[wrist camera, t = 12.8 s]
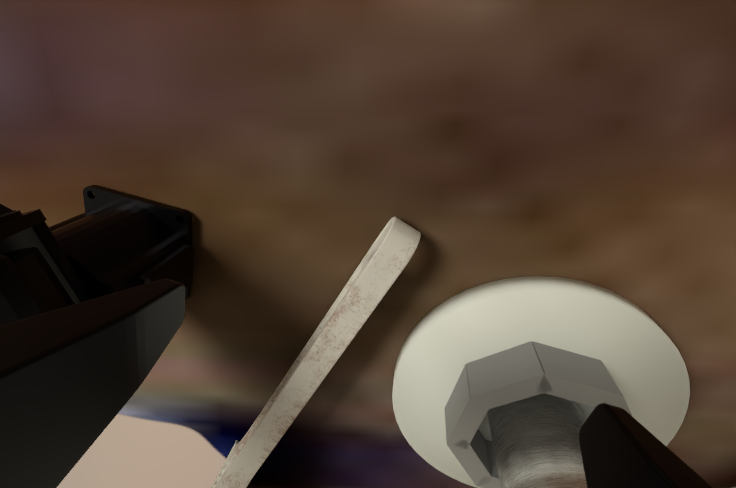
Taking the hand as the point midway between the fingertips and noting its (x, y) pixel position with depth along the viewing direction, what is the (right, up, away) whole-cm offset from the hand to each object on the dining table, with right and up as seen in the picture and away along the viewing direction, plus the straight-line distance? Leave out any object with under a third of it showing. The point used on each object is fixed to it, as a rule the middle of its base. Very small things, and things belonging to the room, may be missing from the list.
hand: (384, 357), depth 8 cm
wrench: (-6, -7, +19) cm, 21 cm away
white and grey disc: (+10, -7, +16) cm, 20 cm away
